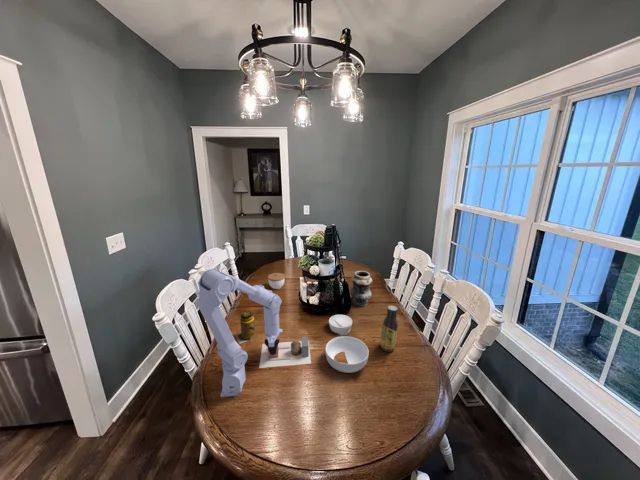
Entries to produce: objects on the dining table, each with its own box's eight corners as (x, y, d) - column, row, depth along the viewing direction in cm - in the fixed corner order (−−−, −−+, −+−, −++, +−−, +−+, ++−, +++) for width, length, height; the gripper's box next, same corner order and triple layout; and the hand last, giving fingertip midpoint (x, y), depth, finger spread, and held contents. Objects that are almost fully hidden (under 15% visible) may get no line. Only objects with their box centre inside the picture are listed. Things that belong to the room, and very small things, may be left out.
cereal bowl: (373, 358, 106) (374, 344, 104) (358, 387, 92) (358, 371, 90) (336, 344, 114) (337, 330, 112) (317, 369, 100) (317, 353, 98)
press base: (311, 366, 101) (311, 352, 99) (259, 371, 99) (258, 357, 97) (308, 343, 115) (308, 330, 113) (262, 346, 112) (261, 333, 110)
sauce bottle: (377, 347, 112) (380, 306, 107) (385, 341, 116) (389, 301, 111) (389, 355, 108) (393, 313, 102) (398, 348, 112) (402, 308, 106)
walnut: (301, 355, 105) (300, 347, 104) (291, 356, 105) (291, 347, 104) (300, 348, 109) (300, 340, 108) (291, 349, 108) (290, 341, 107)
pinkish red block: (278, 357, 104) (277, 344, 102) (268, 357, 103) (267, 345, 102) (278, 350, 108) (277, 337, 106) (268, 351, 107) (268, 338, 106)
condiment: (258, 337, 118) (256, 314, 115) (239, 344, 114) (237, 320, 110) (252, 329, 124) (251, 307, 121) (235, 335, 120) (232, 312, 116)
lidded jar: (266, 285, 170) (265, 272, 168) (282, 282, 175) (281, 269, 172) (270, 292, 161) (270, 278, 159) (287, 288, 166) (286, 275, 163)
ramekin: (324, 333, 122) (324, 323, 120) (334, 321, 131) (334, 312, 130) (346, 340, 117) (347, 330, 115) (355, 327, 126) (355, 317, 125)
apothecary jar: (371, 308, 143) (373, 278, 139) (349, 306, 145) (350, 277, 140) (370, 297, 155) (372, 270, 150) (350, 296, 157) (351, 268, 152)
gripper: (281, 331, 95) (282, 362, 99) (282, 310, 109) (283, 338, 113) (262, 333, 94) (264, 363, 98) (265, 311, 108) (266, 339, 112)
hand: (273, 350), depth 105 cm, fingers closed on pinkish red block, 4 cm apart
